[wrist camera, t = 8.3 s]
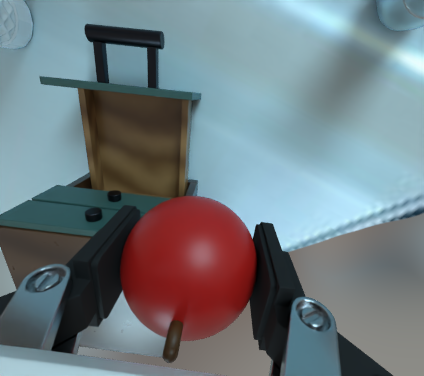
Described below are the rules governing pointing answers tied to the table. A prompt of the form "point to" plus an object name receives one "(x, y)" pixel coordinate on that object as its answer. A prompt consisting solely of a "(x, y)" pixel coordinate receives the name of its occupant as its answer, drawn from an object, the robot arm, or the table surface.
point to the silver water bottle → (401, 14)
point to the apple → (188, 270)
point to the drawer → (133, 122)
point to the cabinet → (71, 243)
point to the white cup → (15, 24)
